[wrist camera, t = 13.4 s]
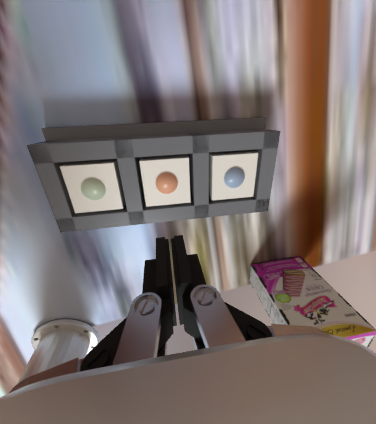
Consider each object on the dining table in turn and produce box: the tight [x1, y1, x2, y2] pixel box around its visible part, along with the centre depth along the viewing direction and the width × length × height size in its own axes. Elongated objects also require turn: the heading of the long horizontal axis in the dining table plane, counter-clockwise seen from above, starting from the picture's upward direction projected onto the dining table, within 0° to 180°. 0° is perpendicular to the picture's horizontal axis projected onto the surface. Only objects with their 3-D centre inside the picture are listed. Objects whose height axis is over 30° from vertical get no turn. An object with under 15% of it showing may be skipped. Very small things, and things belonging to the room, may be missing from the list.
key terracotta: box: [139, 154, 191, 207], centre depth 26 cm, size 6×6×3 cm
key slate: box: [209, 150, 258, 200], centre depth 27 cm, size 6×6×3 cm
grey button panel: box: [27, 118, 280, 232], centre depth 27 cm, size 14×29×5 cm, turn 92°
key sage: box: [60, 159, 126, 213], centre depth 25 cm, size 6×6×3 cm
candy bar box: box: [249, 256, 376, 348], centre depth 34 cm, size 11×5×16 cm, turn 95°
